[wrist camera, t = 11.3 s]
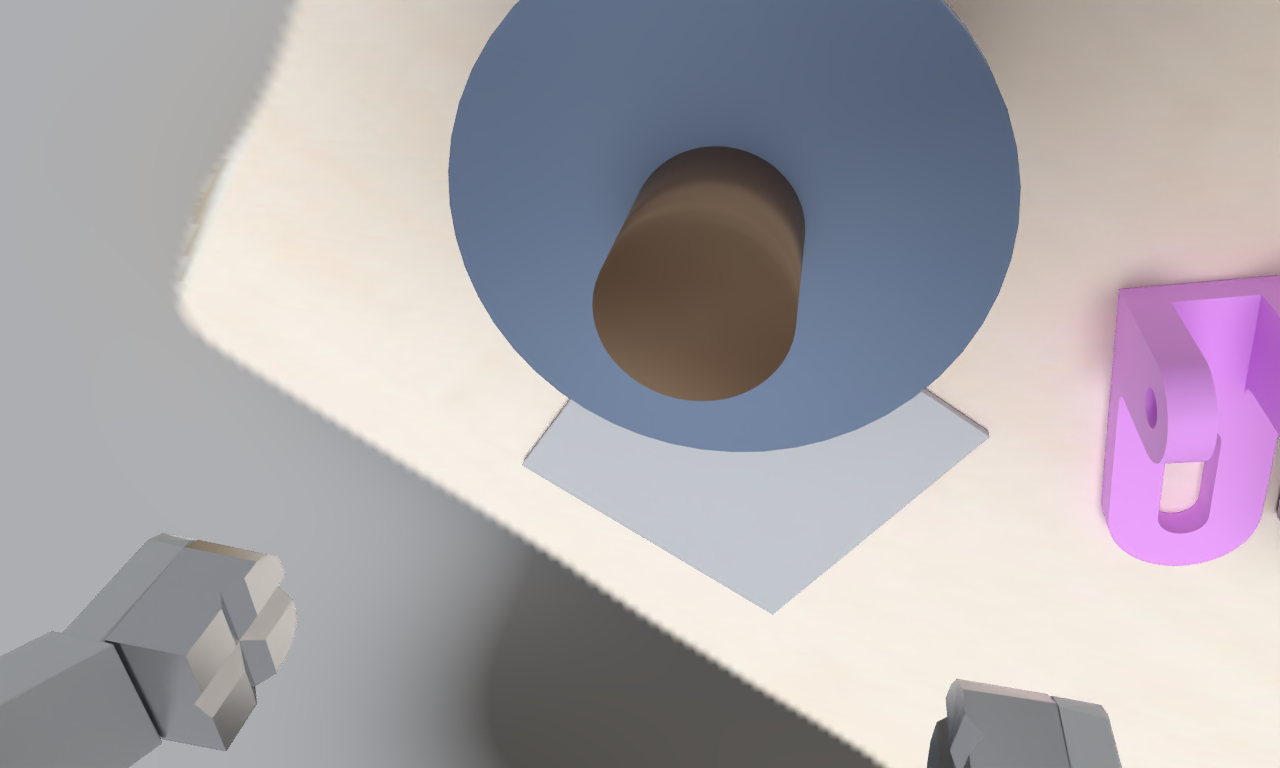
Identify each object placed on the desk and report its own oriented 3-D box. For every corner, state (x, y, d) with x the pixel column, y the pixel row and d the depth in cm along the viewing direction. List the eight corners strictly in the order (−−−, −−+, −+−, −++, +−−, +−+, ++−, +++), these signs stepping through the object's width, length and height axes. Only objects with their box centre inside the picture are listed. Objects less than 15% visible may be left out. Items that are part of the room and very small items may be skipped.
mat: (694, 233, 35) (692, 237, 35) (988, 431, 37) (989, 436, 37) (524, 459, 43) (522, 465, 43) (773, 608, 46) (772, 614, 46)
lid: (629, -242, 17) (557, -245, 13) (1151, 148, 19) (1233, 253, 15) (388, 263, 24) (295, 363, 20) (781, 502, 26) (769, 636, 22)
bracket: (1118, 287, 33) (1173, 394, 27) (1292, 272, 31) (1388, 381, 26) (1096, 544, 40) (1137, 671, 34) (1239, 541, 38) (1306, 674, 33)
